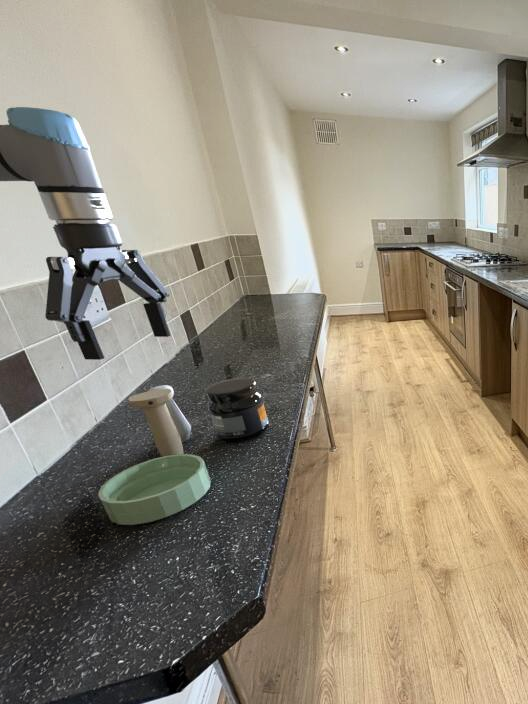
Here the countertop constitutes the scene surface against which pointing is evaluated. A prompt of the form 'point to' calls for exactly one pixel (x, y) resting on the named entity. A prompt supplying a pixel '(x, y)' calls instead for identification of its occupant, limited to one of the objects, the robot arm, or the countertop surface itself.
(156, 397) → the handle
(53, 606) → the countertop surface
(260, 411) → the supplement container
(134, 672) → the countertop surface
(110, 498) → the bowl
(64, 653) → the countertop surface
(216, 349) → the countertop surface
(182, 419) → the salt shaker
